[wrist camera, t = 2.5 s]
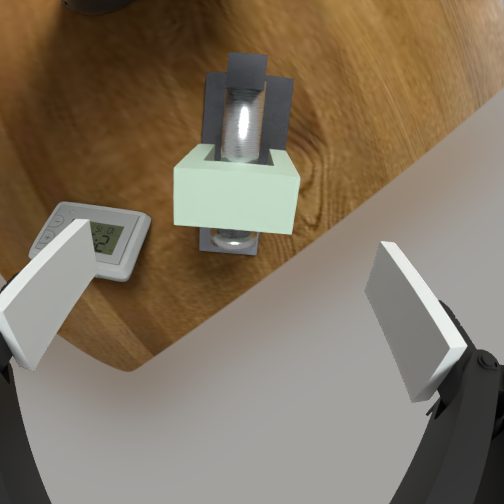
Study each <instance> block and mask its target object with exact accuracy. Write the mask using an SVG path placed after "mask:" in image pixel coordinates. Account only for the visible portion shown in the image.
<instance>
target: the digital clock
mask: <svg viewBox="0 0 504 504" xmlns="http://www.w3.org/2000/svg"><path fill="white" fill-rule="evenodd" d="M75 219H89V221H90V228H91V234H92V240H93V246H94V252H95V257H96V262H97V267H98V272H97V273H96V275H95V276H94V277H96V278H104V279H108V280H114V281H119V282H125V281H127V280H128V279H129V278H130V276H131V274H132V272H133V269H134V266H135V263H136V261H137V258H138V255H139V253H140V250H141V247H142V245H143V242H144V240H145V237H146V235H147V232H148V230H149V227H150V224H151V218H150V216H148V215H146V214H145V213H142V212H137V211H131V210H124V209H117V208H110V207H103V206H96V205H88V204H81V203H73V202H60V203H59V204H58V205H57V206H56V208H55V209H54V211H53V212H52V214H51V215H50V217H49V218H48V220H47V221H46V223H45V225H44V226H43V228H42V230H41V231H40V233H39V234H38V236H37V238H36V239H35V241H34V243H33V245H32V247H31V249H30V252H29V258H30V259H31V260H33V259H34V258H35V257H36V256H37V255H38V254H39V253H40V252H41V251H42V250H43V249H44V248H45V247H46V246H47V245H48V244H49V243H50V242H51V241H52V240H53V239H54V238H55V237H56V236H58V235H59V234H60V233H61V232H62V231H63V230H64V229H65V228H66V227H67V226H69V225H70V224H71V223H72V222H73V221H74V220H75Z"/></svg>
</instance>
